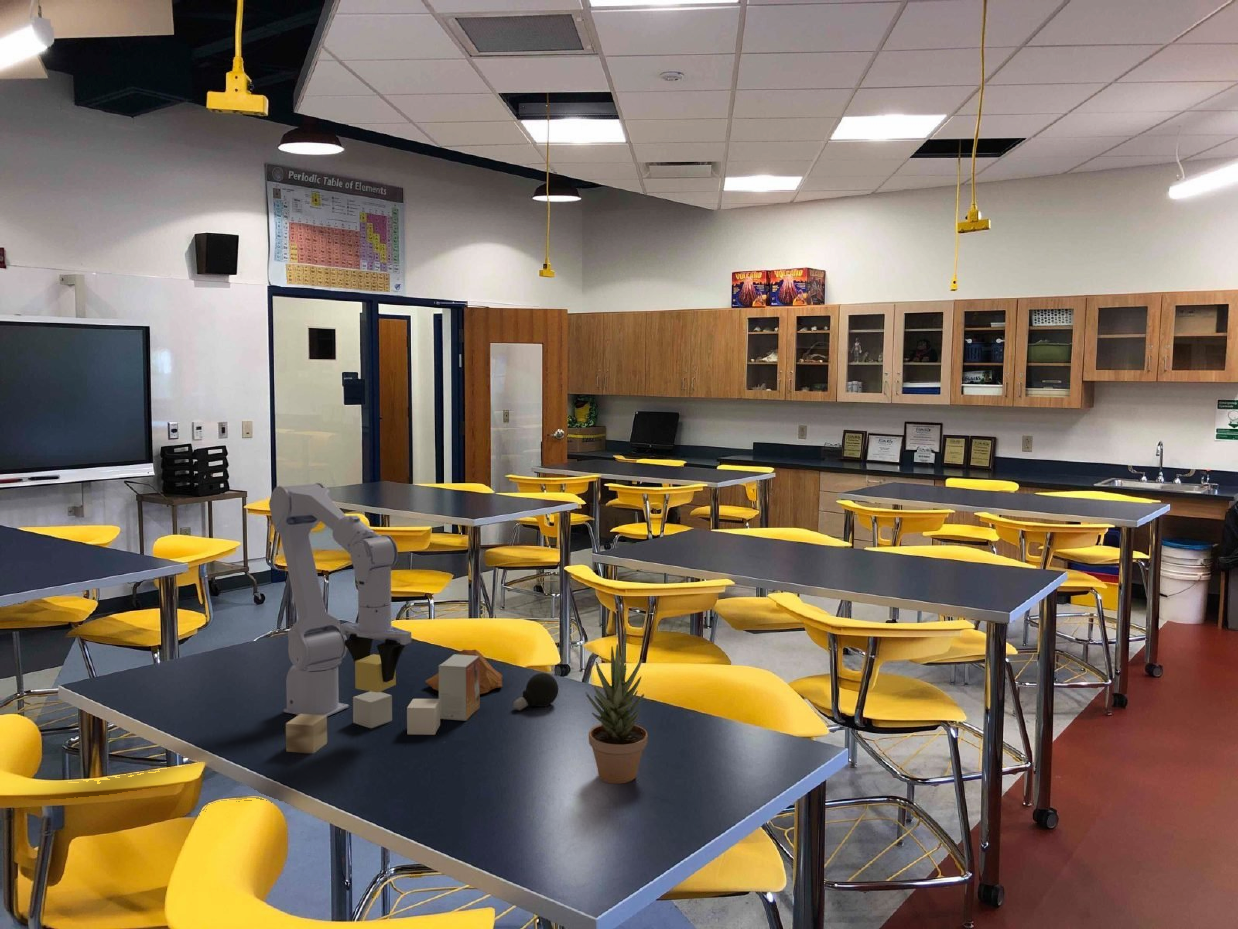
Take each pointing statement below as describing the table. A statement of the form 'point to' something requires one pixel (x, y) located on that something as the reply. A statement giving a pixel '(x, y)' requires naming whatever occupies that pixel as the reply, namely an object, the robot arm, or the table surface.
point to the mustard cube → (371, 674)
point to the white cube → (423, 716)
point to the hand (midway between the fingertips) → (375, 678)
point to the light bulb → (538, 692)
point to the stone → (487, 674)
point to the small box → (459, 687)
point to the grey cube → (372, 709)
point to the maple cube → (306, 733)
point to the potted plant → (617, 724)
